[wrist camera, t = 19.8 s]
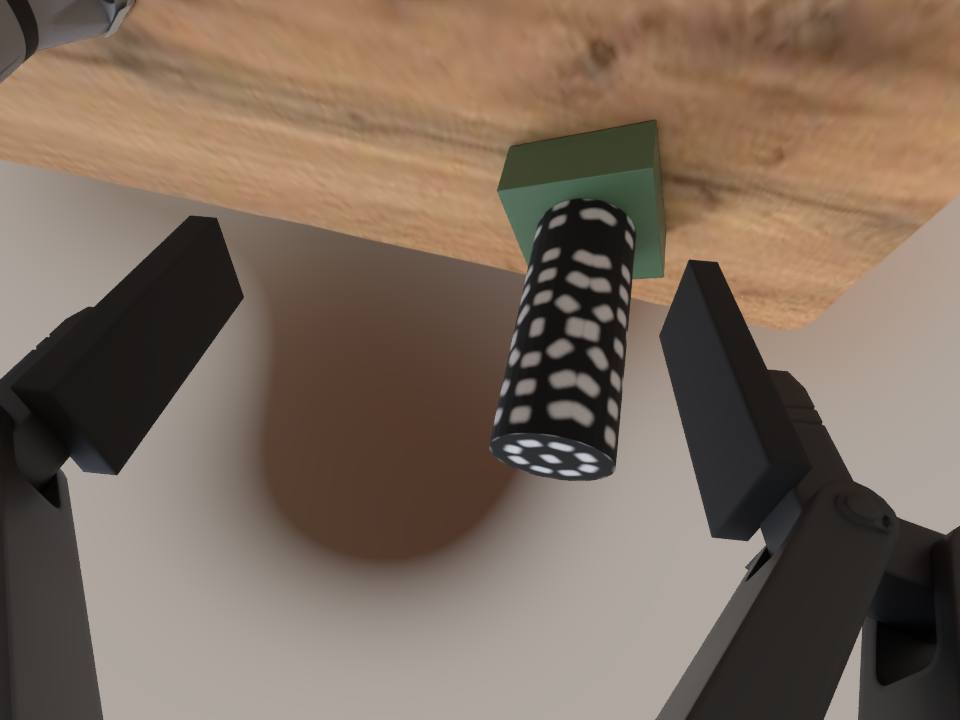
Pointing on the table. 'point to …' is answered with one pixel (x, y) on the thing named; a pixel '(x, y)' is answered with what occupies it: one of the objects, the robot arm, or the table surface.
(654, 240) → the block
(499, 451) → the spotted tube
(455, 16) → the table surface
